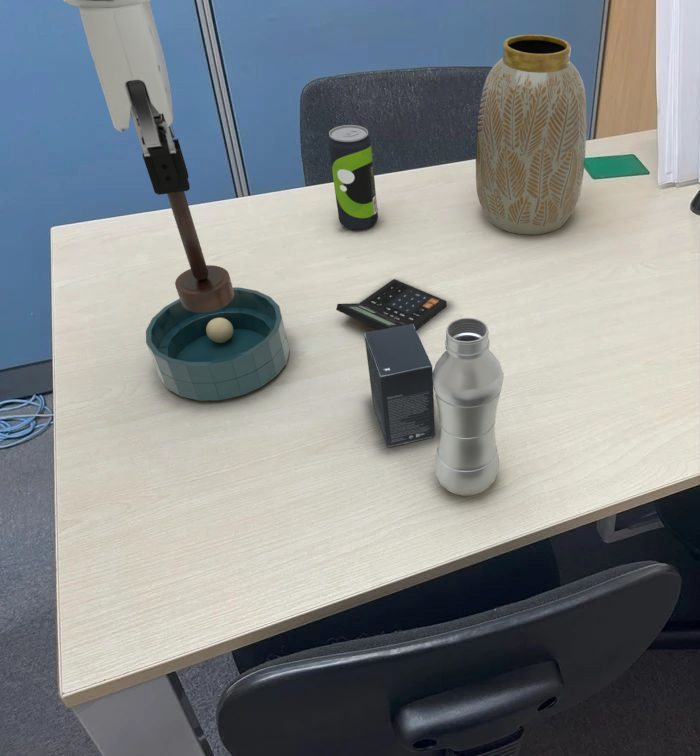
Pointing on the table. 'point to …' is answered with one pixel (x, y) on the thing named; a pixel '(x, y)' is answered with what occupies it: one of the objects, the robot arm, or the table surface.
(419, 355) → the box
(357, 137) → the beverage can
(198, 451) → the table surface
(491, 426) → the plastic bottle
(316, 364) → the table surface
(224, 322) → the ball
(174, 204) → the brown plunger
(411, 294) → the calculator
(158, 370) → the bowl
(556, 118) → the vase
